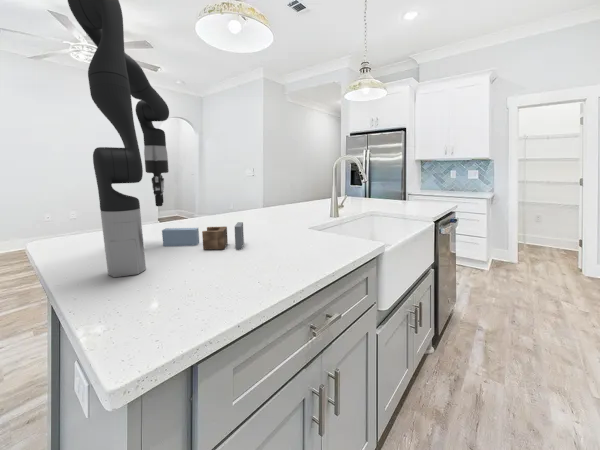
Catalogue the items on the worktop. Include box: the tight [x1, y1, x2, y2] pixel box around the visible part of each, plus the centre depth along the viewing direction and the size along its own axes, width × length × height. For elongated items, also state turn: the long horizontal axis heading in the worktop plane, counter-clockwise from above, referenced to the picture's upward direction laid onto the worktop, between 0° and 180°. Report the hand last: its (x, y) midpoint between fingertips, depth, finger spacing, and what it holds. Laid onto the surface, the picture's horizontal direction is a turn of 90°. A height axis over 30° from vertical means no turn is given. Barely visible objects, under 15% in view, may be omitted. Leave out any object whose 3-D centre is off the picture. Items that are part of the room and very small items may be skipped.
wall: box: [234, 221, 245, 250], centre depth 113 cm, size 2×9×8 cm, turn 4°
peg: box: [161, 227, 200, 247], centre depth 117 cm, size 12×4×6 cm, turn 95°
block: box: [201, 226, 229, 250], centre depth 113 cm, size 7×9×6 cm
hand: (159, 204), depth 115 cm, fingers open, 8 cm apart
